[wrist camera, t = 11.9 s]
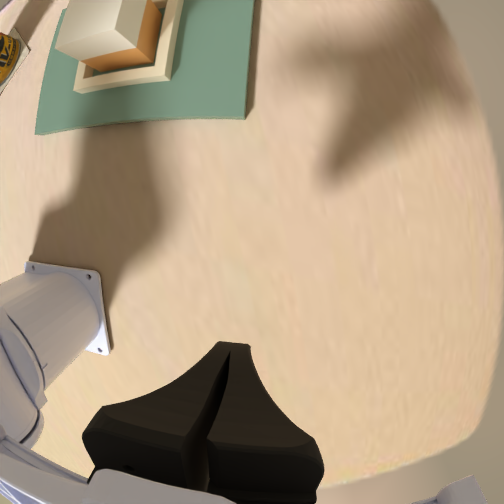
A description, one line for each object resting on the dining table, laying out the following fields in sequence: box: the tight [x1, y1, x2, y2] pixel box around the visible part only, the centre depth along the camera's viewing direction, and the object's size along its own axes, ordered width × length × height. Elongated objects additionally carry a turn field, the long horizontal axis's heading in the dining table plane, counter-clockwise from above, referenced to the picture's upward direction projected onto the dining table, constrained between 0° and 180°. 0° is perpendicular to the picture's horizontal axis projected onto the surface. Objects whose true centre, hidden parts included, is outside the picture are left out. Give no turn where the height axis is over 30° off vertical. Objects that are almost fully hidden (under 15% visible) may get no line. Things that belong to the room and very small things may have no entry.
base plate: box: [35, 0, 255, 135], centre depth 16 cm, size 18×13×2 cm
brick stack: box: [54, 0, 162, 72], centre depth 13 cm, size 4×4×6 cm
